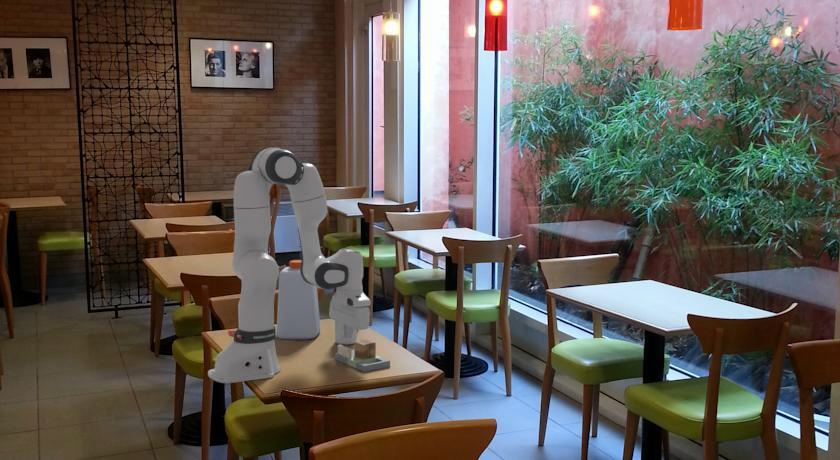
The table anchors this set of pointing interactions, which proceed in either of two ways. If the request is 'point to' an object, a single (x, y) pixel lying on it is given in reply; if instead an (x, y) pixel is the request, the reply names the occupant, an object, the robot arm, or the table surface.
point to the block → (365, 349)
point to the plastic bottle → (296, 305)
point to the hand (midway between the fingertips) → (347, 337)
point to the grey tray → (360, 360)
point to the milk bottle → (340, 338)
